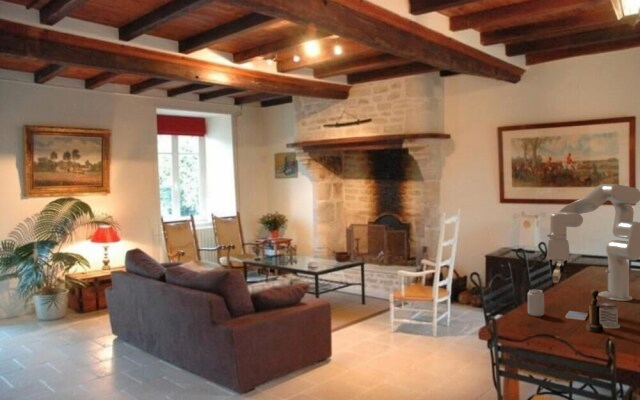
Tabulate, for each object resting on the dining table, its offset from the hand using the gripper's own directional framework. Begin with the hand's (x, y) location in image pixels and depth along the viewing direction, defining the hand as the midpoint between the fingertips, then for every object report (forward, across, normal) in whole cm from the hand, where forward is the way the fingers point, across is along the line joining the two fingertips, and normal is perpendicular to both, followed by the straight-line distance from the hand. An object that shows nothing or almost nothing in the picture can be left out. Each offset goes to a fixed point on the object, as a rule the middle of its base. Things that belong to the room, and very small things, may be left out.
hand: (558, 272), depth 262 cm
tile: (+17, +11, -12) cm, 24 cm away
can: (+18, -6, -23) cm, 30 cm away
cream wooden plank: (+1, 0, 0) cm, 1 cm away
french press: (+18, +24, -25) cm, 39 cm away
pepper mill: (+18, +21, -36) cm, 45 cm away
